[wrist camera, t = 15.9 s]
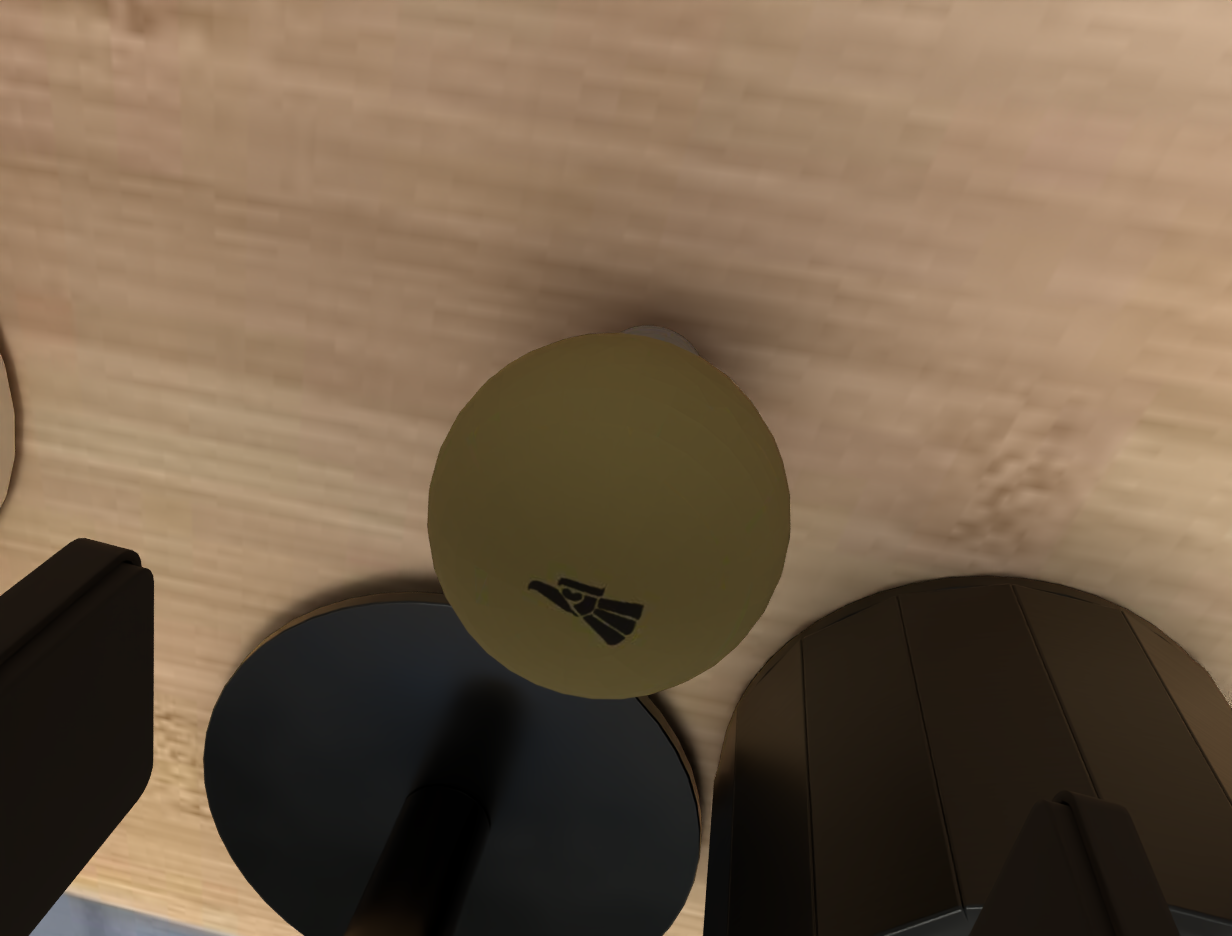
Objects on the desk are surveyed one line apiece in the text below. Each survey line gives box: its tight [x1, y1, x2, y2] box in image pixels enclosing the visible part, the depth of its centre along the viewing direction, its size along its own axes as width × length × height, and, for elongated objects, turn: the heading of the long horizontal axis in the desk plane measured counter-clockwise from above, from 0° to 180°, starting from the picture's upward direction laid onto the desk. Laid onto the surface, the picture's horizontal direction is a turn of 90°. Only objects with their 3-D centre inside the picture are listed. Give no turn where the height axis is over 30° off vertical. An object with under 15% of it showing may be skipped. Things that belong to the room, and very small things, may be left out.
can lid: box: [203, 592, 702, 936], centre depth 26 cm, size 13×13×6 cm
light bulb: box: [427, 326, 790, 699], centre depth 18 cm, size 6×6×10 cm
